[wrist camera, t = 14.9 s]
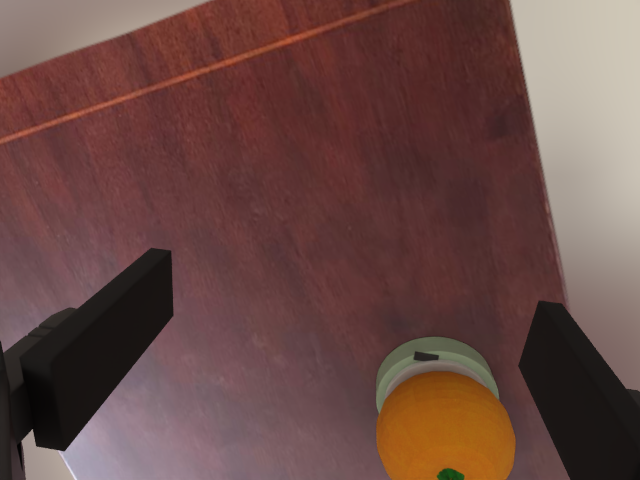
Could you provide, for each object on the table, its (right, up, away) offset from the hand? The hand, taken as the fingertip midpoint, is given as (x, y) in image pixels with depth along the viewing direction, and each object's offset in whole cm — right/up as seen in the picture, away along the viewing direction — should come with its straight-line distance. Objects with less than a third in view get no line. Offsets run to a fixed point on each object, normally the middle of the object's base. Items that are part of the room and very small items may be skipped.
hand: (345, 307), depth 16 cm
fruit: (+10, -13, +27) cm, 32 cm away
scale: (+11, -12, +30) cm, 34 cm away
